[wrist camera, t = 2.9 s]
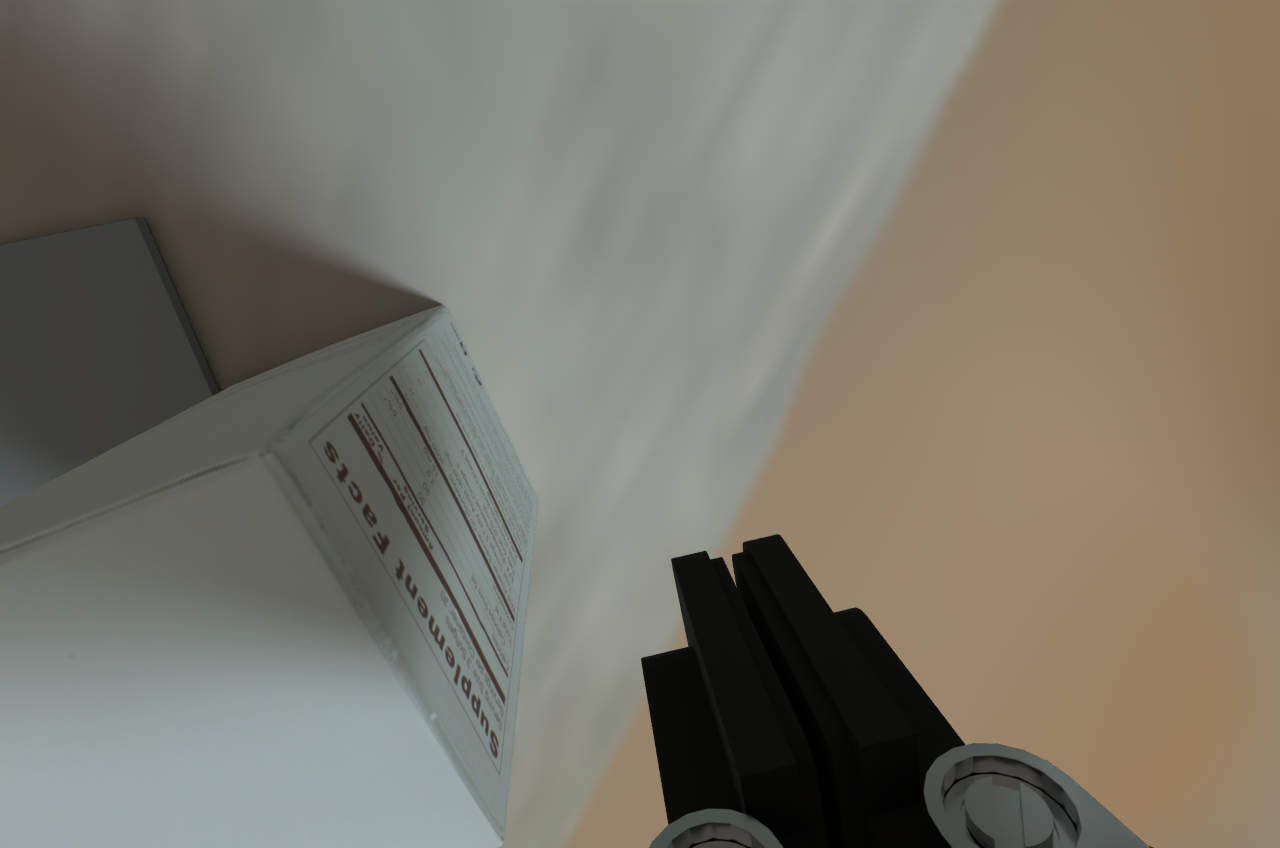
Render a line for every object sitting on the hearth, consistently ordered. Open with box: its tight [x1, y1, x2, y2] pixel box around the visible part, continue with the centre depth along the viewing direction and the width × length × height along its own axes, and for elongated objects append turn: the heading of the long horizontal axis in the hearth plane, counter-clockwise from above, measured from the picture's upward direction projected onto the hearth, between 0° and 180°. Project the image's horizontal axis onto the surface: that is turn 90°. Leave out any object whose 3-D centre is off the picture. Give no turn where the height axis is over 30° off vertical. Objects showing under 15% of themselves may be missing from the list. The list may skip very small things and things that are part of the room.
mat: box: [0, 218, 219, 507], centre depth 20 cm, size 12×18×1 cm, turn 11°
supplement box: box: [0, 305, 538, 848], centre depth 14 cm, size 7×7×13 cm
